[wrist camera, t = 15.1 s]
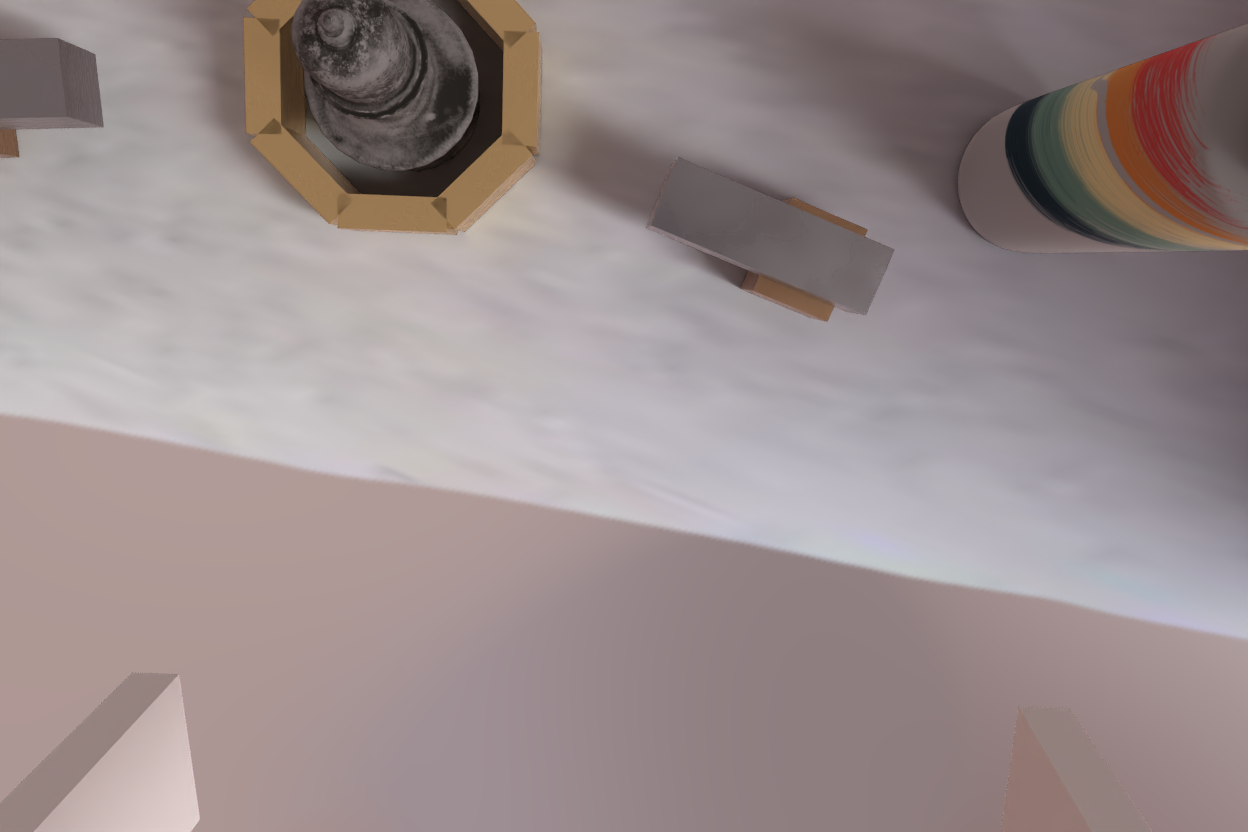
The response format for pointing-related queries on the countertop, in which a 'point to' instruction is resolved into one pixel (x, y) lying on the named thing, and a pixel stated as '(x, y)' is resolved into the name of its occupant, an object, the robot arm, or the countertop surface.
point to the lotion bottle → (1121, 159)
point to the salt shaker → (388, 80)
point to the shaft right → (772, 242)
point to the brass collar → (298, 160)
